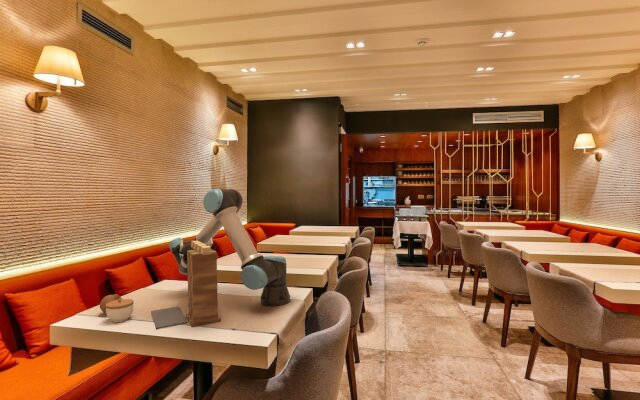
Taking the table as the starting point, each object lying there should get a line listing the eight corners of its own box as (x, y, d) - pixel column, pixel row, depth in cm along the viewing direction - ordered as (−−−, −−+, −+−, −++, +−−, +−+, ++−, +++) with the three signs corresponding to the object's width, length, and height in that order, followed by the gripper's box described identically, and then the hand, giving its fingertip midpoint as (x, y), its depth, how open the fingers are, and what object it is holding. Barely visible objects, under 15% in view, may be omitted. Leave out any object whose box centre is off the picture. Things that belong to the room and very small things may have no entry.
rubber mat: (151, 312, 157) (151, 311, 157) (178, 307, 163) (178, 306, 163) (156, 329, 137) (156, 327, 137) (187, 323, 143) (187, 321, 143)
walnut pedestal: (185, 316, 150) (184, 250, 150) (212, 311, 157) (211, 248, 156) (191, 327, 138) (190, 255, 138) (220, 321, 145) (219, 252, 144)
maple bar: (191, 247, 160) (190, 240, 160) (197, 246, 161) (197, 240, 161) (203, 255, 138) (203, 247, 138) (210, 254, 139) (210, 247, 139)
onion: (121, 318, 158) (131, 299, 158) (102, 319, 150) (112, 299, 150) (111, 308, 162) (120, 289, 163) (91, 309, 154) (102, 289, 155)
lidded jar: (121, 325, 142) (120, 303, 142) (99, 323, 144) (99, 302, 144) (139, 316, 152) (139, 295, 152) (119, 314, 154) (118, 294, 154)
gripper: (215, 262, 176) (225, 246, 160) (164, 268, 163) (168, 252, 147) (213, 249, 179) (222, 232, 163) (162, 254, 166) (167, 236, 150)
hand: (197, 241), depth 155 cm, fingers open, 12 cm apart
